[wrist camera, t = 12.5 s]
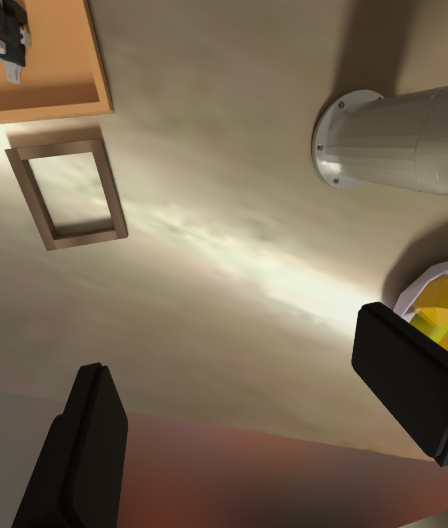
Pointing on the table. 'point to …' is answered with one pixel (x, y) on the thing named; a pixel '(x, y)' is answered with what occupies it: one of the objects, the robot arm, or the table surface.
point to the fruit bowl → (427, 304)
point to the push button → (13, 38)
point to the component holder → (38, 206)
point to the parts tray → (56, 66)
